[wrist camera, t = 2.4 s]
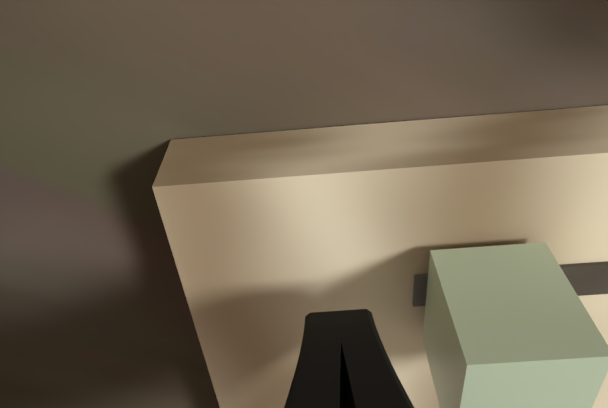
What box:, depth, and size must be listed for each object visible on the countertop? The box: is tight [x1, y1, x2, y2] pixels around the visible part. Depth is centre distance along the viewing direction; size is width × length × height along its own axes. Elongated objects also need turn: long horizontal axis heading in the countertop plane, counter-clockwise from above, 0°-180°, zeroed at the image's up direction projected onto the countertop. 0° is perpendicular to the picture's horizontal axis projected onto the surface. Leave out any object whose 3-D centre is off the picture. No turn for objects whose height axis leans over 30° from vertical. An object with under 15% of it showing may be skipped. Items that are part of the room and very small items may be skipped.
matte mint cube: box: [423, 242, 608, 408], centre depth 11 cm, size 2×3×3 cm
